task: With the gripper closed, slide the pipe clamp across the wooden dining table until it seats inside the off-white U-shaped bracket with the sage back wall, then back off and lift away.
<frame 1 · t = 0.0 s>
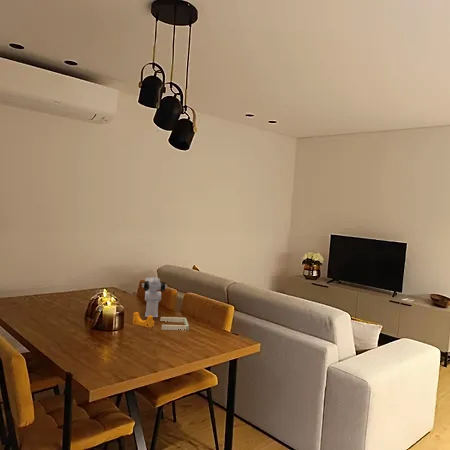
hand: (155, 287, 249), 22 cm above the table, tool horizontal, fingers open, 7 cm apart
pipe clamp: (143, 325, 248), on the table
bracket: (173, 325, 251), on the table
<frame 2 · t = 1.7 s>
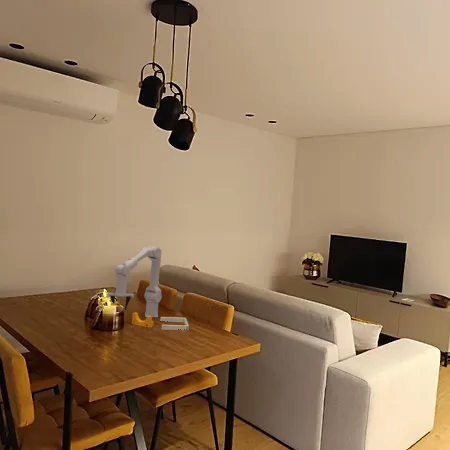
hand: (119, 309, 244), 8 cm above the table, tool pointing down, fingers open, 6 cm apart
nothing on the table moved.
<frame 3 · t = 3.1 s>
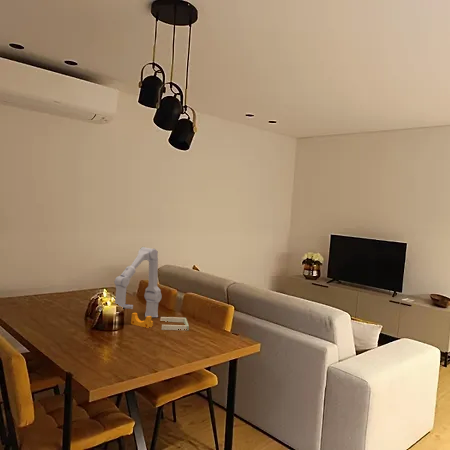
hand: (118, 320, 245), 2 cm above the table, tool pointing down, fingers closed
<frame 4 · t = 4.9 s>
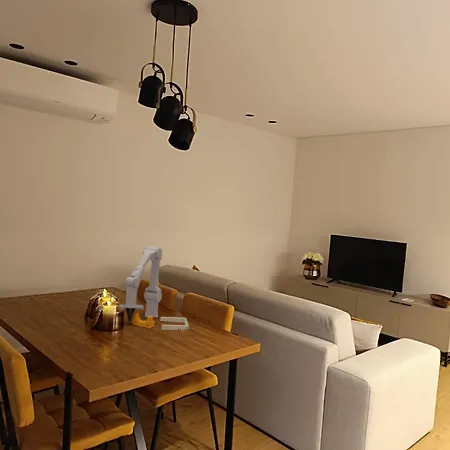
hand: (129, 321, 246), 2 cm above the table, tool pointing down, fingers closed
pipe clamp: (143, 325, 246), on the table, touching gripper
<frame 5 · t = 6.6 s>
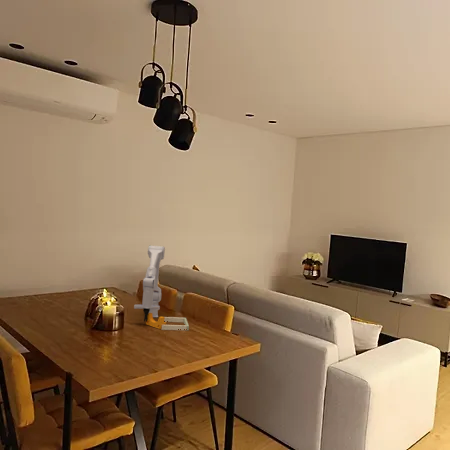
hand: (145, 321, 249), 2 cm above the table, tool pointing down, fingers closed, pressing on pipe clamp
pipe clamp: (155, 326, 247), on the table, touching bracket, gripper
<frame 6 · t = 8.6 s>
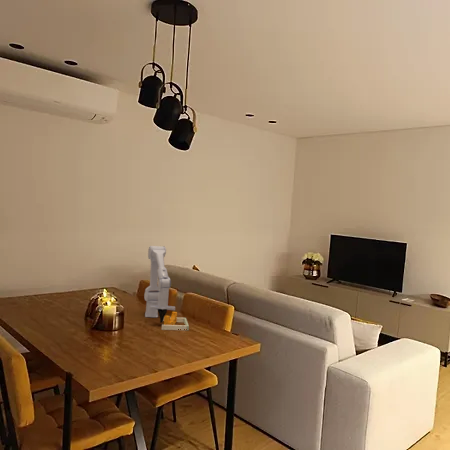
hand: (161, 322, 249), 2 cm above the table, tool pointing down, fingers closed
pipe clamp: (171, 325, 252), on the table, touching gripper
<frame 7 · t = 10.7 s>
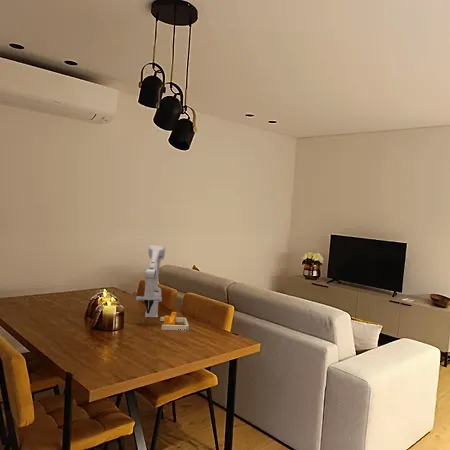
hand: (147, 313, 248), 7 cm above the table, tool pointing down, fingers closed
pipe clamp: (171, 325, 252), on the table
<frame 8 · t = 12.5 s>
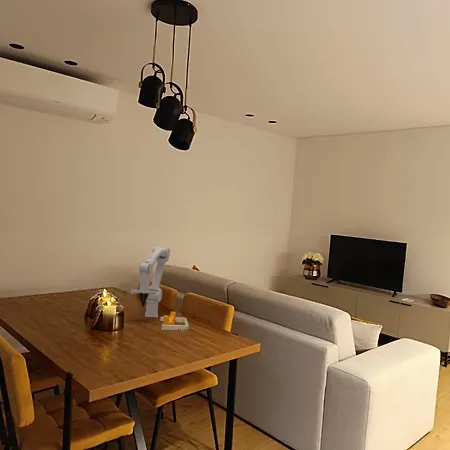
hand: (142, 306, 253), 9 cm above the table, tool pointing down, fingers closed
nothing on the table moved.
at the end: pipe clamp inside the target area on the bracket (1.2 cm from its centre), point 0.0 cm above the bracket's base; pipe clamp tilted 0°; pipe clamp moved 15.5 cm from its start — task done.
